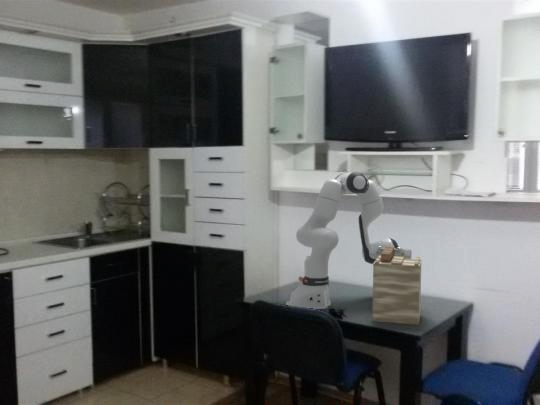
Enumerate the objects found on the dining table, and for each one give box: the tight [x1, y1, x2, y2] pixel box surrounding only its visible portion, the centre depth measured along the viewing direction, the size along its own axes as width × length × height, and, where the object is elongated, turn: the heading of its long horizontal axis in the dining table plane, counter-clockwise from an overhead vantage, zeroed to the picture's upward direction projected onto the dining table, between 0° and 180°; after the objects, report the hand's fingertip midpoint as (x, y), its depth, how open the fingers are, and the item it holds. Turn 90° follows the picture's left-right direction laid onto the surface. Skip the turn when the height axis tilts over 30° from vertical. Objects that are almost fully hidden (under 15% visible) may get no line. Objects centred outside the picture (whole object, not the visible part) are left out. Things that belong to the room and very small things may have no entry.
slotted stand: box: [371, 255, 422, 326], centre depth 255 cm, size 16×20×27 cm
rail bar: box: [381, 247, 394, 263], centre depth 261 cm, size 20×4×4 cm, turn 162°
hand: (389, 248), depth 266 cm, fingers open, 8 cm apart
